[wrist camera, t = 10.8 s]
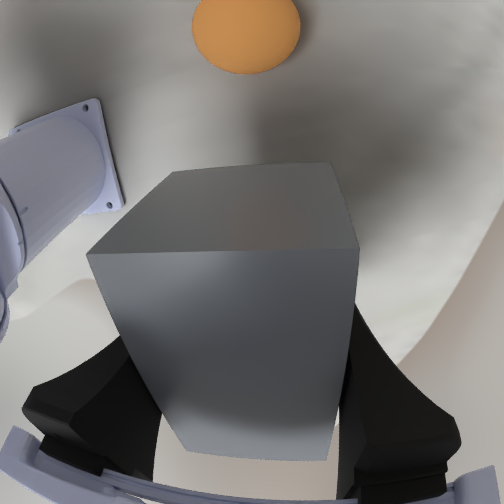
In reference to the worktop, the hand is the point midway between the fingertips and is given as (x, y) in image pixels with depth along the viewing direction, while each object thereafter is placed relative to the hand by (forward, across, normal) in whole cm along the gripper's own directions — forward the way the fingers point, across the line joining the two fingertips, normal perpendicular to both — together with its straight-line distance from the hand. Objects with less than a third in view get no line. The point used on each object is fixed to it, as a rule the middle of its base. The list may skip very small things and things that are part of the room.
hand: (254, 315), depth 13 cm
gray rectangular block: (+2, 0, 0) cm, 2 cm away
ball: (+6, 0, -11) cm, 13 cm away
